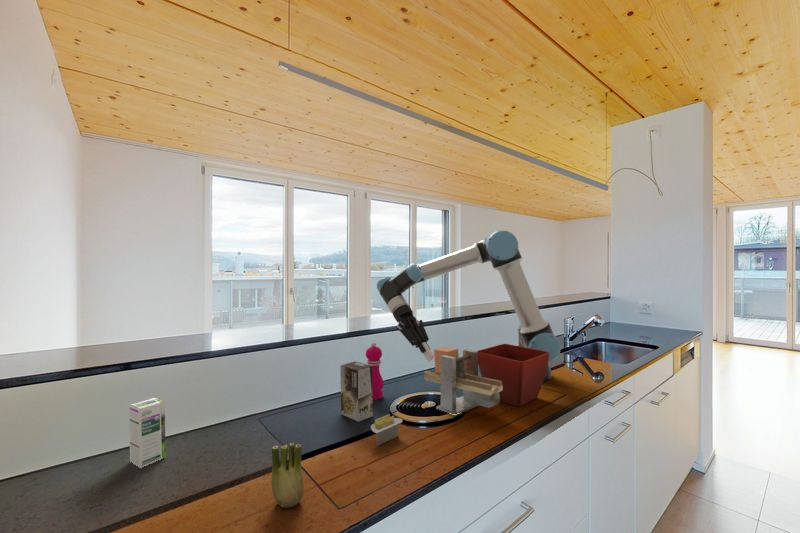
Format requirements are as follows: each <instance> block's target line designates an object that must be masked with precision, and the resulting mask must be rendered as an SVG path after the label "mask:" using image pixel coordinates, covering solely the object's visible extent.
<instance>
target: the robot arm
mask: <svg viewBox="0 0 800 533" xmlns="http://www.w3.org/2000/svg"><path fill="white" fill-rule="evenodd" d="M522 259H523V258H522V255H521V252H520V250H519V242H518V239H517V237H516V235H515V234H513V233H512V232H510V231H507V230H502V229H501V230H500V229H499V230H496V231H493V232H492V233H490V234H489V235H488V236H486V237H484V238H483V239H482V240H478V241H477V242H474V243H473V245H471V246H469V247H466V248H463V249H460V250H458V251H457V250H456V251H455V252H452V253H449V254H446V255H443V256H441V257H437V258H434V259H431V260H429V261H426V262H423V263H420V264H416V263H414V262H413V263H410V264H409V265H407V266H406V267H405V268H404V269H402V270H401V271H400V272H399V273H398V274H396V275H395V276H393V277H391V276H384V277H383V278H382V277H381V279H379V280H378V281H377V283H376V289H377V291H378V292H379V295H380V297H381V298H382V299H383V301H384V302H385V304H386V307H387V308H388V309H389V310H390V313H391V314H392V316H393V318H394V319H395V321H396V322H397V323H398V324H397V325H396V327H395V329H396V330H397V331H399V332H400V333H401V334H402V335H403V336H404V338H405V339H406V340H407V341H408V343H409V344H410V345H411V346H412V347H415V348H418V349H419V351H420V353H421V354H423V356H424V357H425V359H426V361H427V362H430V361H432V360H433V359H435V358H434V352H432V350H431V347H430V346H429V344H428V341H429V340H430V338H429V336H428V334H427V331H426V329H425V326H424V321H423V320H422V319H420V320H418V319H417V317H415V316H414V312H413V310H412V308H411V307H410V305H409V302H408V301H407V300H406V298H405V297H404V296H403V293H405V292H406V291H407V290H409V289H410V288H412V287H413V286H414V285H416V284H418V283H419V284H420V283H422V282H424V281H427V280H430V279H434V278H436V277H439V276H442V275H445V274H447V273H451V272H453V271H454V272H455V271H457V270H459V269H460V270H461V269H463V268H465V267H468V266H471V265H474V264H477V263H479V264H484V263H489V262H490V263H491V265H492V267H493V269H494V270H497V271H498V273H499V274H500V277H501V280H502V282H503V284H504V287H505V289H506V291H507V294H508V296H509V299H510V301H511V303H512V306H513V308H514V309H513V310H514V311H515V315H516V316H517V318H518V320H519V322H520V323H519V324H518V329H517V331H518V346H521V347H526V348H531V349H536V350H541V351H547V352H549V360H548V365H547V370H546V374H545V377H544V381H549V380H551V379H552V377H553V376H552V375H553V374H552V373H553V372H552V370H551V367H550V363H549V362H552V361H554V360H555V359H557V358H558V357H559V354H560V353H561V349H562V347H561V342H560V340H559V338H558V337H557V336H556V335H555V334H554V332H553V330H552V328H551V324H550V322H549V321H548V320H545V319H544V318H543V316H542V314H541V312H540V309H539V306H538V303H537V301H536V299H535V296H534V294H533V292H532V290H531V286H530V284H529V283H528V282H529V281H528V280H527V277H526V275H525V273H524V270H523V267H522V264H521V261H522ZM544 381H543V382H544Z"/></svg>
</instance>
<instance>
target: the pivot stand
mask: <svg viewBox="0 0 800 533" xmlns="http://www.w3.org/2000/svg"><path fill="white" fill-rule="evenodd" d="M466 355H469V356H470V359H467V360H464V369H465V374H470V375H475V376H479V365H478V350H472V349H468V348H466V349H463V350H462V357H463V356H466ZM440 381H441V384H440V404H439V405H437V406H436V410H438V409H439V410H438V411H440V410H441V411H440V412H443V411H444V412H443V413H445V412H447V413H446V414H448V413H451V414H457V413H460V412H464V413H466V412H468V411H470V410H472V409H475V408H476V407H479V406H480V405H476V402H475V392H472V391H468V390H464V389H462V396H459V397H457V388H456V358H455V357H451V356H447V355H442V356H440Z"/></svg>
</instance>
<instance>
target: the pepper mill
mask: <svg viewBox="0 0 800 533" xmlns="http://www.w3.org/2000/svg"><path fill="white" fill-rule="evenodd" d="M365 356H366V359H367V360H366V364H367V365H371V366H373V367H372V380H373V401H374V400H375V401H377V400H380V399H382V398H383V395H384V394H383V393H384V392H383V391H382V390H383V389H384V387H385V384H384V383H385V382H384V379H383V376H382V374H381V372H380V365H381V362H382V361H381V358H382V356H383V351H382V349H381V348H380V347H379V346H377V343H376V342H375V341H374V342H372V343H371V345H370V346H369V347H368V348H367V349H366V351H365Z"/></svg>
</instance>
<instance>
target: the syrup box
mask: <svg viewBox="0 0 800 533" xmlns="http://www.w3.org/2000/svg"><path fill="white" fill-rule="evenodd" d="M165 405H166V402H165V401H164V400H163V399H160V398H157V397H152V398H150V399H146V400H142V401H140V402H135V403H131V404H129V405H128V421H129V423H128V424H129V425H128V427H129V428H128V429H129V462H130V463H131V462H132V463H133V464H132V463H131V464H132V465H134V464H135V465H136V467H137V466H138V467H137V468H138V469H140V468H141V469H143V468H144V466H145V467H147V466H149V464H150V465H152V464H155V463H157V462H159V461H161V459H162V460H164V459H166V458H165V457H167V456H166V454H167V453H166V452H167V451H166V406H165ZM163 458H164V459H163ZM158 460H159V461H158ZM156 461H157V462H156ZM135 465H134V466H135ZM142 467H143V468H142Z"/></svg>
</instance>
